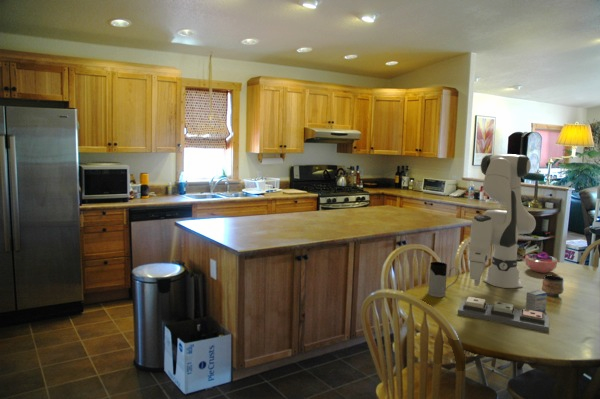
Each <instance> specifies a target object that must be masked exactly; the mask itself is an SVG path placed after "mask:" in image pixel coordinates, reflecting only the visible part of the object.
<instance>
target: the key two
mask: <svg viewBox="0 0 600 399" xmlns="http://www.w3.org/2000/svg"><path fill="white" fill-rule="evenodd" d="M493 304H494V311H500V312H505V313H510V314H512V311H513V308H514V304H512V303H507V302H506V303H505V302H501V301H496V300H495V302H494V303H493Z"/></svg>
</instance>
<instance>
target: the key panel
mask: <svg viewBox="0 0 600 399" xmlns="http://www.w3.org/2000/svg"><path fill="white" fill-rule="evenodd" d="M467 299H468V298H466V299H463V300H462V302H461V304H460V306H459V307H458V308H457V315H461V316H464V317H471V318H474V319H479V320H485V321H490V322H496V323H499V324H505V325H510V326H515V327H520V328H526V329H530V330H535V331H539V332H546V333H549V329H550V322H549V321H550V320H549V319H550V316H549V315H547V314H545V313H546V312H545V313H544V312H542V319H537V318H532V317H526V316H523V309H524V308H521V309H516V307H513V311H512V314H510V313H505V312H500V311H494V304H495V303H493V304H489V303H488V302H486V301H485V306H484V308H478V307H473V306H468V305H466V301H467Z"/></svg>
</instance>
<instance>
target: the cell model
mask: <svg viewBox="0 0 600 399" xmlns="http://www.w3.org/2000/svg"><path fill="white" fill-rule="evenodd" d="M524 258H525V260H524V262H525V265H526V266H527V267H528V268H529V269H530V270H532V271H533V272H535V273H542V274H546V273H550V272H552V271H555V269H556V268H557V266H558V263H559V262H558V258H557V257H555V256H553V255H552V256H551V255H549V254H548V253H547V252H545V251H540V252H538V253H529V254H525V257H524Z"/></svg>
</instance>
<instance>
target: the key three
mask: <svg viewBox="0 0 600 399" xmlns="http://www.w3.org/2000/svg"><path fill="white" fill-rule="evenodd" d="M522 309H523V316H526V317H532V318H537V319H542V313H543V312H538V311H532V310H527V309H526V308H522Z"/></svg>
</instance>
